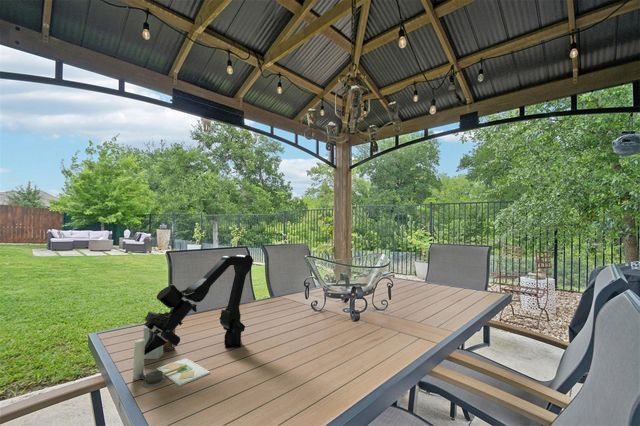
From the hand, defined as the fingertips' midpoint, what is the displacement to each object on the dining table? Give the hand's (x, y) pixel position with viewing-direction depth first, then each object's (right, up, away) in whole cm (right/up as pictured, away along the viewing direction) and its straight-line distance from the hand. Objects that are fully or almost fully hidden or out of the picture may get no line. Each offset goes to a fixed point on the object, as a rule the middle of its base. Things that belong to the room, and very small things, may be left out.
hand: (142, 354), depth 102 cm
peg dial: (+6, -7, -1) cm, 9 cm away
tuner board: (+10, -8, 0) cm, 13 cm away
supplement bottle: (-3, -9, +22) cm, 24 cm away
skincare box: (-5, -8, +15) cm, 18 cm away
